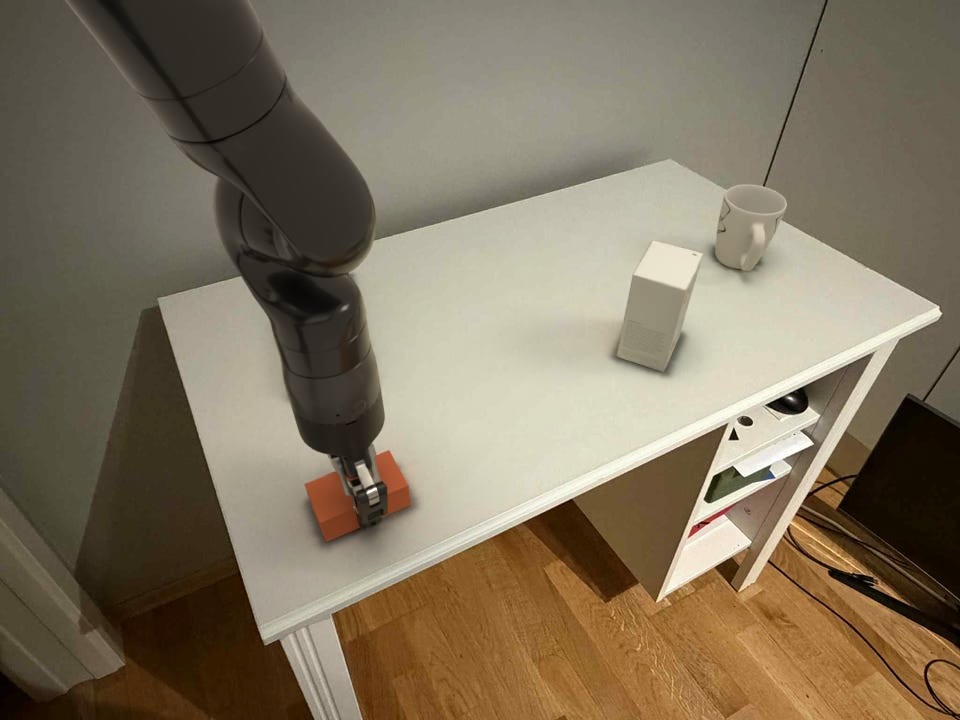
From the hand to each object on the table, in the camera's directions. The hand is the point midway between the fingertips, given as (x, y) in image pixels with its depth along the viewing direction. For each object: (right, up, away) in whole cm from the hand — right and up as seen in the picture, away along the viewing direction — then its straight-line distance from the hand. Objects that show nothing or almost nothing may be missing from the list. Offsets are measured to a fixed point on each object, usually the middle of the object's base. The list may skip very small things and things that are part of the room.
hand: (360, 502), depth 65 cm
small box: (+34, +16, +18) cm, 42 cm away
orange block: (0, 0, 0) cm, 0 cm away
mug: (+51, +29, +31) cm, 66 cm away
